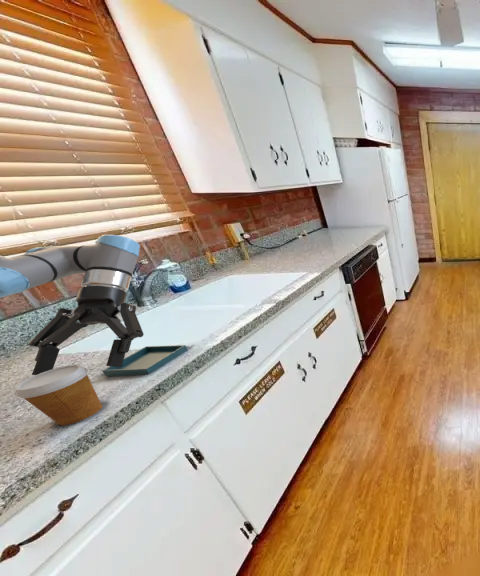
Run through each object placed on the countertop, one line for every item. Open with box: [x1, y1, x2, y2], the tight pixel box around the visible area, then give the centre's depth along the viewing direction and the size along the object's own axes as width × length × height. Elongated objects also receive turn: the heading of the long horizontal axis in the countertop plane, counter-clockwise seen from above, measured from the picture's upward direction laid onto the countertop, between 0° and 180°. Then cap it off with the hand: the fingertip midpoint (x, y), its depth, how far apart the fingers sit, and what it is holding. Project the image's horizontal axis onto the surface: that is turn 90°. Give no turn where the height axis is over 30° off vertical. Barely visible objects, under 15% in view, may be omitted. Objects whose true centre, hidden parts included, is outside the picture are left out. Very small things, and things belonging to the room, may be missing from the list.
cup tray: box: [101, 344, 189, 377], centre depth 89 cm, size 12×12×2 cm
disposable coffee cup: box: [14, 364, 103, 426], centre depth 69 cm, size 10×10×12 cm
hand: (78, 370), depth 71 cm, fingers open, 13 cm apart
